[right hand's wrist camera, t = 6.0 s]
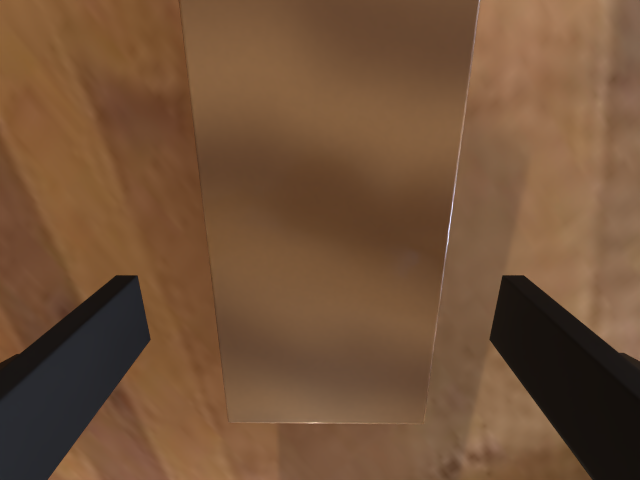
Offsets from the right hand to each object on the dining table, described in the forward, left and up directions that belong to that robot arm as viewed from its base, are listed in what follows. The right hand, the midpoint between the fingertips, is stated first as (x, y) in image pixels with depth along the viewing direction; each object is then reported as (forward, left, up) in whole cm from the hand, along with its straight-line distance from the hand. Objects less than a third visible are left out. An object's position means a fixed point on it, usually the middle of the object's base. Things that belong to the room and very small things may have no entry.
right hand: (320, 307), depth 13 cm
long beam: (+3, -29, -7) cm, 30 cm away
